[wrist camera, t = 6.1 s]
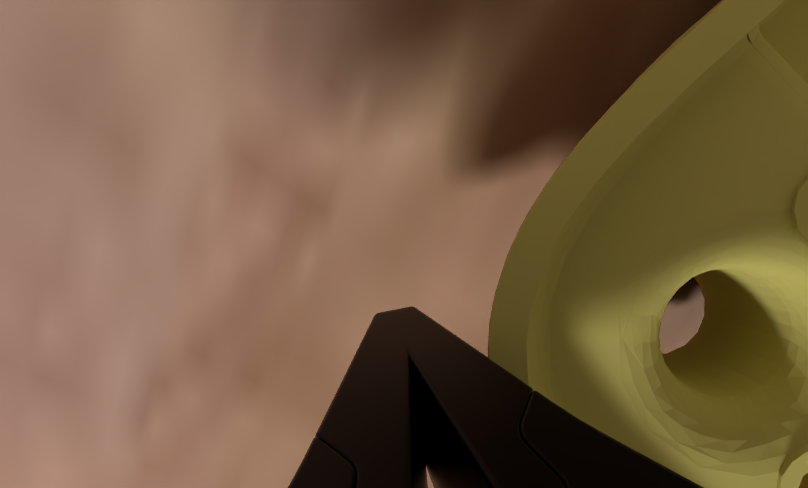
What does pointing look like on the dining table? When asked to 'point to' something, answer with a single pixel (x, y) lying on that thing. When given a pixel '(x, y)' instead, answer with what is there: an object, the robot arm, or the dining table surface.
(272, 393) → the dining table surface
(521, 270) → the plastic component
